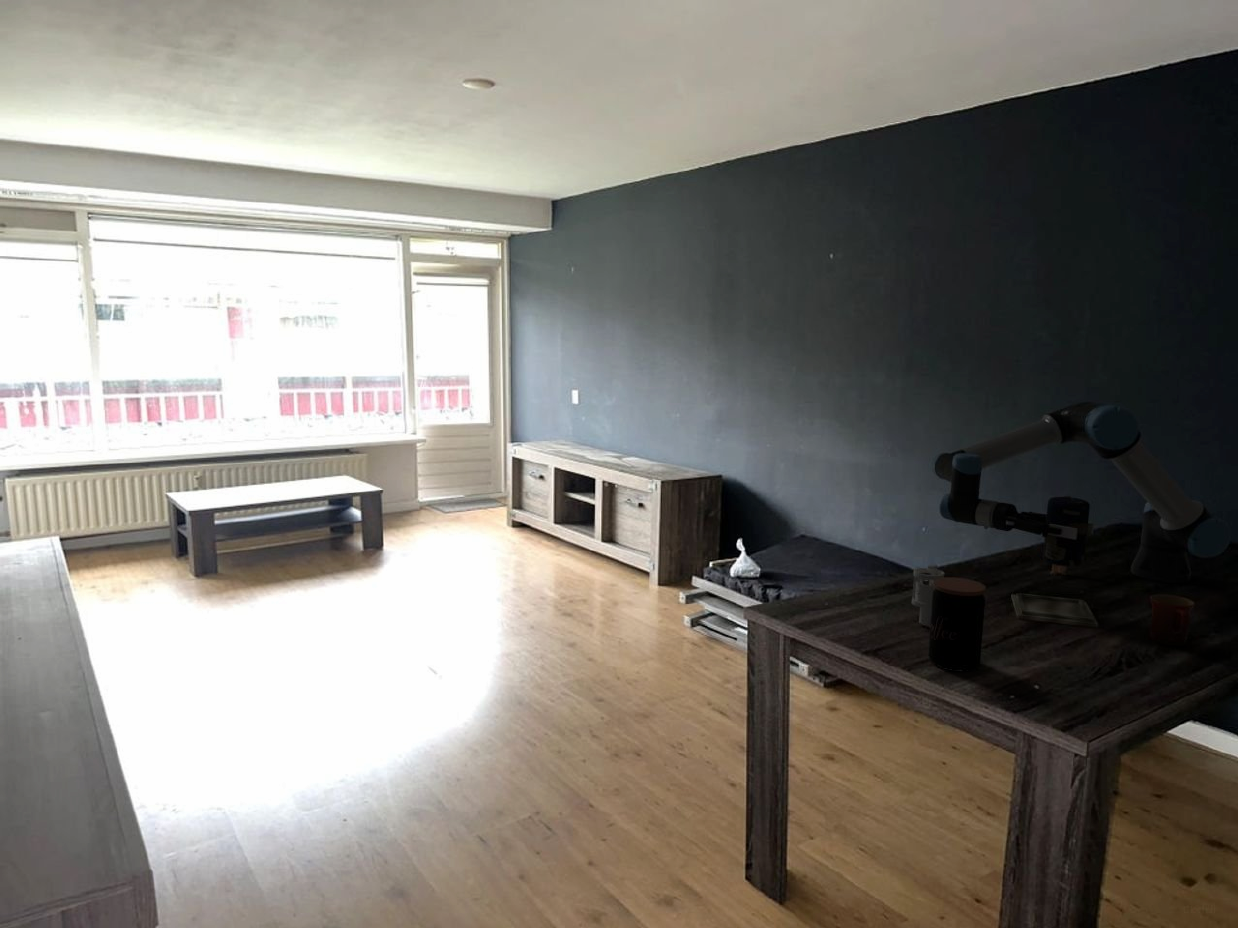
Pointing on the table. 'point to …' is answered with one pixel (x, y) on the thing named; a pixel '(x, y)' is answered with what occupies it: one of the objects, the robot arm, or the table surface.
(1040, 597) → the square tray
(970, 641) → the coffee jar
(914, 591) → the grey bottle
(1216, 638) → the table surface
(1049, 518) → the canister
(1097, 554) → the table surface
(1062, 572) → the grandmother figurine
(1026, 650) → the table surface
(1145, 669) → the table surface
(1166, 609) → the mug
